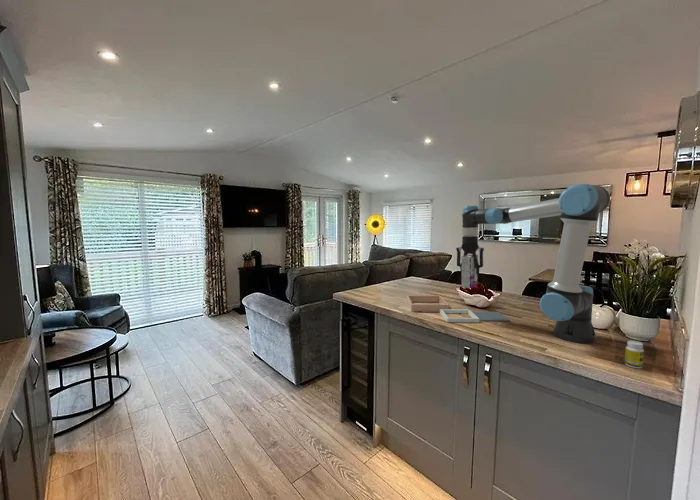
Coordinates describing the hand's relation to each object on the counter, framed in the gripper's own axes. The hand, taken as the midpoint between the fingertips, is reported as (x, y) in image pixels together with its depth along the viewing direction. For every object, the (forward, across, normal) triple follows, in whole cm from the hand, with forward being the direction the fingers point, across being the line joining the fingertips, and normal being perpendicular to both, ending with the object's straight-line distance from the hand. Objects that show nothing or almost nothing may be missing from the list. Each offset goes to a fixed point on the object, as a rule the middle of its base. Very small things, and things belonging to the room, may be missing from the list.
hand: (469, 280), depth 161 cm
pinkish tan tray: (+20, +27, -9) cm, 34 cm away
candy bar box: (+4, 0, 0) cm, 4 cm away
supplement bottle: (+21, -61, +26) cm, 69 cm away
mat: (+20, -9, -7) cm, 23 cm away
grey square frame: (+20, +5, +3) cm, 21 cm away
